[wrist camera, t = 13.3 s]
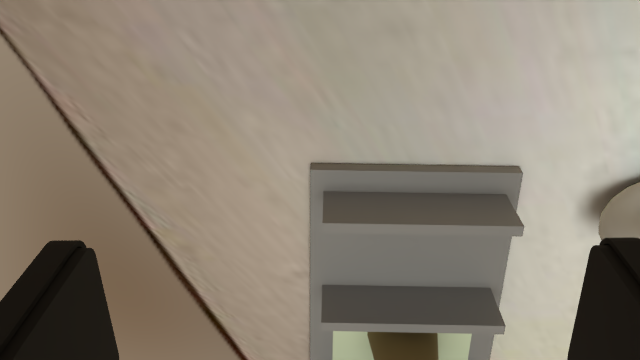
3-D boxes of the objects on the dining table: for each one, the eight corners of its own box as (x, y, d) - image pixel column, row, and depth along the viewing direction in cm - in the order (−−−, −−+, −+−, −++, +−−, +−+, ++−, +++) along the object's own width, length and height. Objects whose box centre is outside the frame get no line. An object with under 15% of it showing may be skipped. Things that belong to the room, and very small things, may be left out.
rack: (518, 166, 46) (543, 203, 41) (481, 379, 56) (497, 432, 50) (310, 163, 46) (308, 200, 41) (310, 375, 56) (308, 428, 51)
